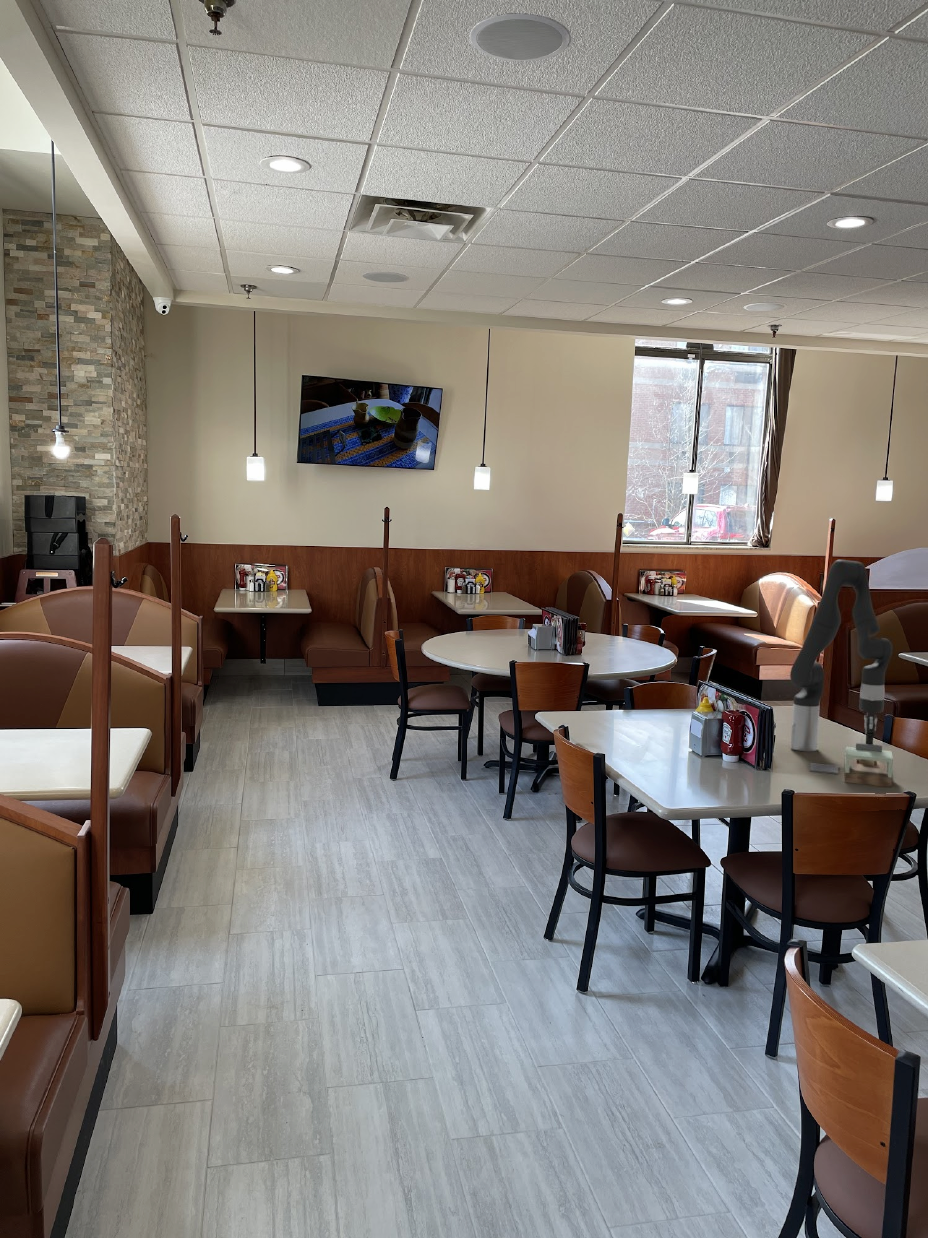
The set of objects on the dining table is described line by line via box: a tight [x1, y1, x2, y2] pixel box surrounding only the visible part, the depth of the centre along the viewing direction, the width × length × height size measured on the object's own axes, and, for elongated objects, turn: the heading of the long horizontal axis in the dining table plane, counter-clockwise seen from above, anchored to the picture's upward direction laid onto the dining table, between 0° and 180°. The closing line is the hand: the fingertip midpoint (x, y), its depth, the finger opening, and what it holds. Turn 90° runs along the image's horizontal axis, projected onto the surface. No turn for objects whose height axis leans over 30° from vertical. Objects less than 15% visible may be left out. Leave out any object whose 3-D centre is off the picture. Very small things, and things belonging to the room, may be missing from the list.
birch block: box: [859, 759, 874, 766], centre depth 311 cm, size 4×4×6 cm
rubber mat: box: [809, 762, 839, 775], centre depth 313 cm, size 9×9×1 cm
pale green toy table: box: [844, 742, 894, 778], centre depth 300 cm, size 14×11×8 cm
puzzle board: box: [843, 754, 893, 788], centre depth 307 cm, size 14×25×3 cm, turn 157°
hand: (868, 747), depth 305 cm, fingers closed
